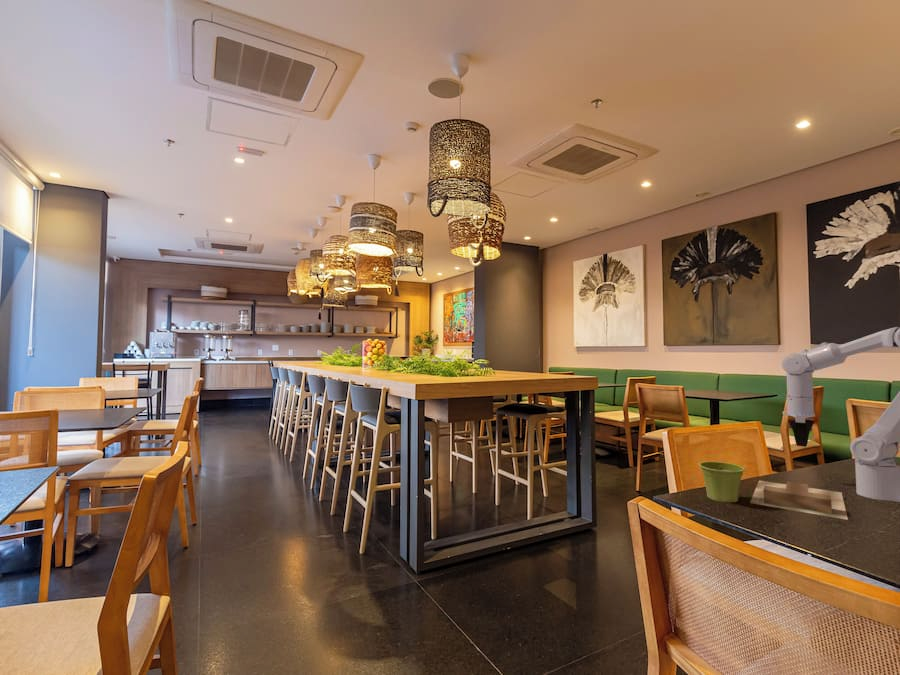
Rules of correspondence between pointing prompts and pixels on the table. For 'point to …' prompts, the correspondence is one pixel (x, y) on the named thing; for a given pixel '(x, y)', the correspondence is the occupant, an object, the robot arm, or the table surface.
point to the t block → (798, 498)
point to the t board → (836, 503)
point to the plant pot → (722, 480)
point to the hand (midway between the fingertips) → (801, 445)
